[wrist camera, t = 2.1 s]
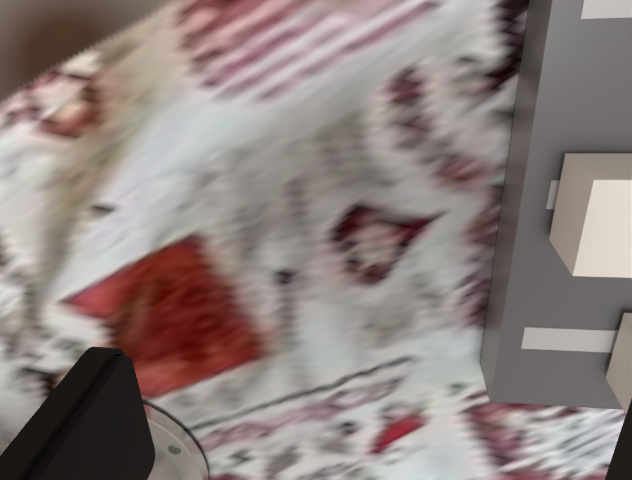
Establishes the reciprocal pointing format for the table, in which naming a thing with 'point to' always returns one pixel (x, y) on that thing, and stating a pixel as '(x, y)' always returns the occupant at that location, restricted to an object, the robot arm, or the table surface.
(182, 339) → the table surface
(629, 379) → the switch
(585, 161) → the middle switch
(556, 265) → the power strip
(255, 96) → the table surface
